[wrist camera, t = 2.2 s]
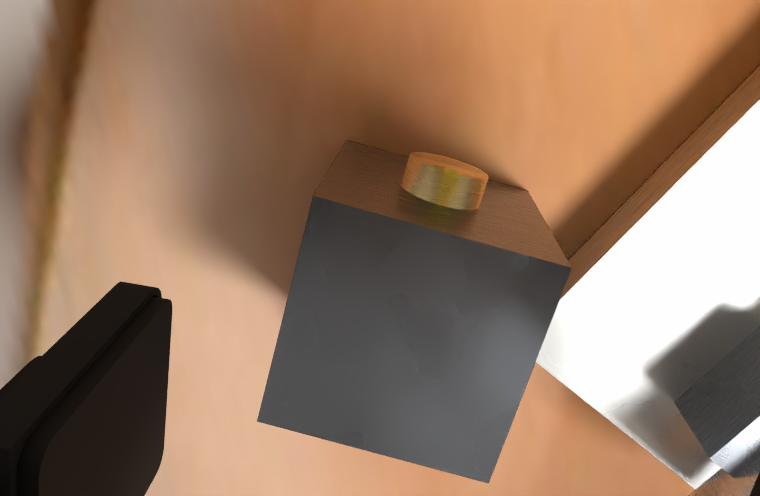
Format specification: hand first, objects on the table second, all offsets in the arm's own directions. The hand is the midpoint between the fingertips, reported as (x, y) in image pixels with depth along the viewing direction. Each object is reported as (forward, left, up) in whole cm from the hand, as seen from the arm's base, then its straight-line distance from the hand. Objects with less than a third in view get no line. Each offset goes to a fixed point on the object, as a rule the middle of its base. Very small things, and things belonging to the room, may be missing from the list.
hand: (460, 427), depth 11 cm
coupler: (-1, 0, -9) cm, 9 cm away
